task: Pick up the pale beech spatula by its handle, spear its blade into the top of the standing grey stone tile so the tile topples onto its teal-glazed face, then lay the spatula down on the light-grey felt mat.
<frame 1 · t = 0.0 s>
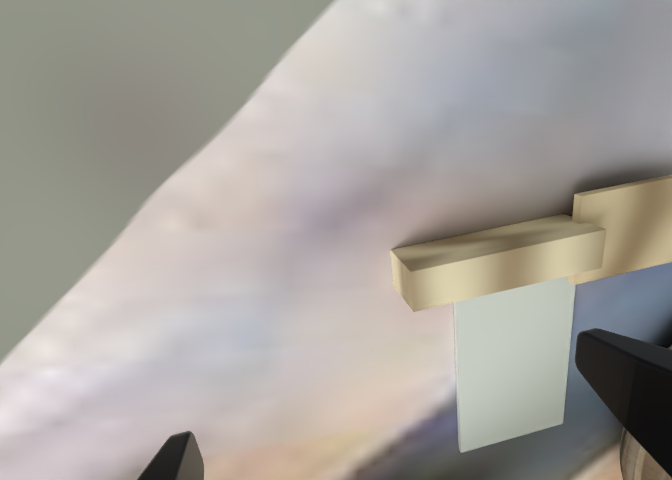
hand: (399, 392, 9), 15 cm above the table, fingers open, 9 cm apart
spatula: (478, 248, 25), on the table
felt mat: (511, 364, 29), on the table
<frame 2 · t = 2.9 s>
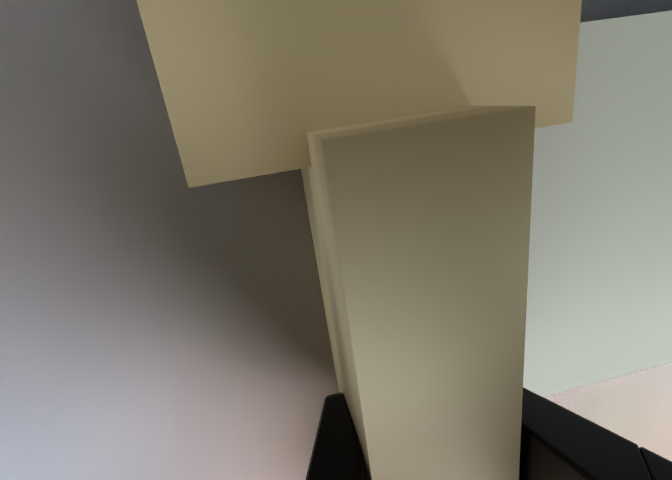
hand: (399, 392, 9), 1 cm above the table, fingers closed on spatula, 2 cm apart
spatula: (384, 364, 10), on the table, touching gripper
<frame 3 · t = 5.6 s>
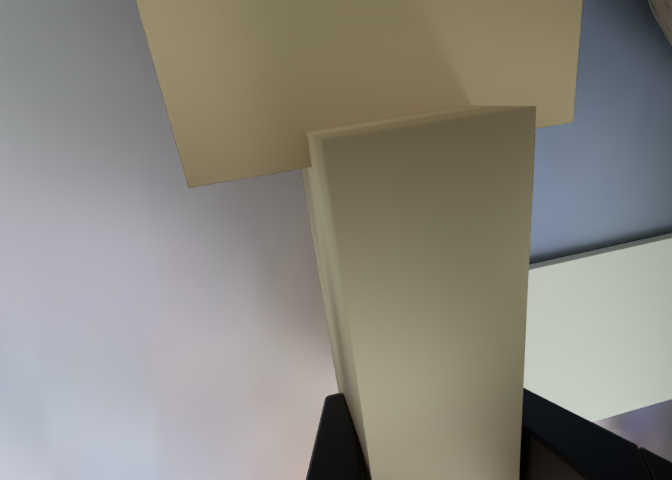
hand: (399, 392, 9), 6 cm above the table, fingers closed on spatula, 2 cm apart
spatula: (384, 365, 10), point 5 cm above the table, touching gripper
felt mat: (577, 343, 17), on the table
when the fingers open (2 cm above the table, at t = 9.6 s): spatula drops 1 cm, resting on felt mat.
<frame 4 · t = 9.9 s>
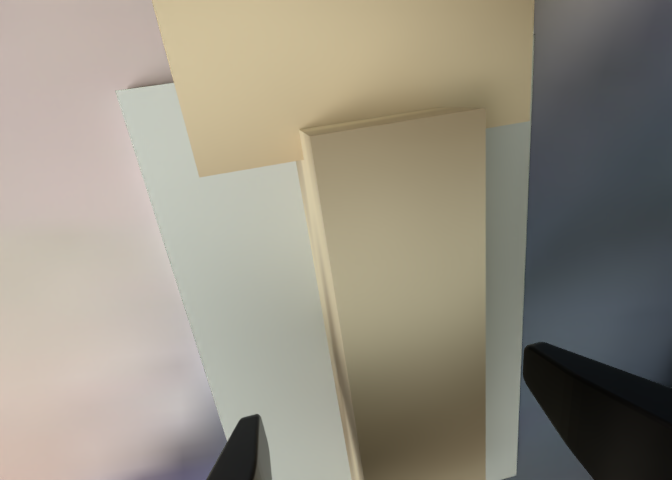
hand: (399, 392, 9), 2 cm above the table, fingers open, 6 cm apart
spatula: (373, 341, 11), resting on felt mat
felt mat: (370, 330, 11), on the table
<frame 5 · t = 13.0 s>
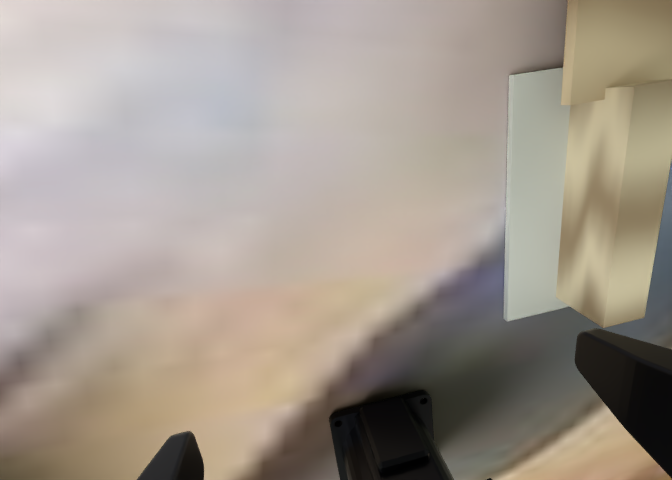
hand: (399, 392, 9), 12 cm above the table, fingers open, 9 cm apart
spatula: (582, 199, 22), resting on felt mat
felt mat: (577, 196, 22), on the table
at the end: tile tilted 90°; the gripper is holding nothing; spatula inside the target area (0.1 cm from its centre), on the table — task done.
